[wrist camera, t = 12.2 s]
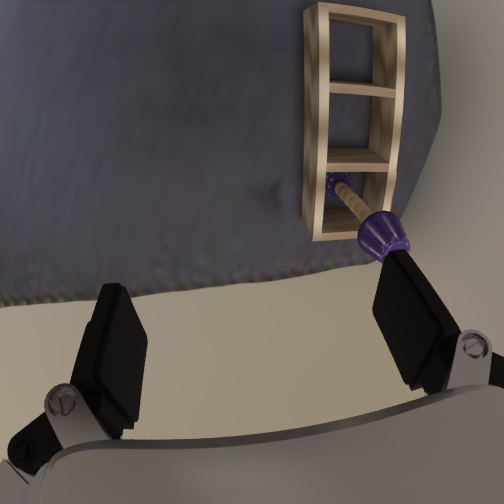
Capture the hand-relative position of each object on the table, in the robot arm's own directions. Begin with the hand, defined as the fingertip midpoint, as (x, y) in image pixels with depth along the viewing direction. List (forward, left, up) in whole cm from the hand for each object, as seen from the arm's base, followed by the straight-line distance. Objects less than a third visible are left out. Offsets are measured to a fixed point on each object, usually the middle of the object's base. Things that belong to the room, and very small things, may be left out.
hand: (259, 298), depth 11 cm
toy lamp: (+7, +13, -29) cm, 32 cm away
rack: (-1, +13, -28) cm, 31 cm away
